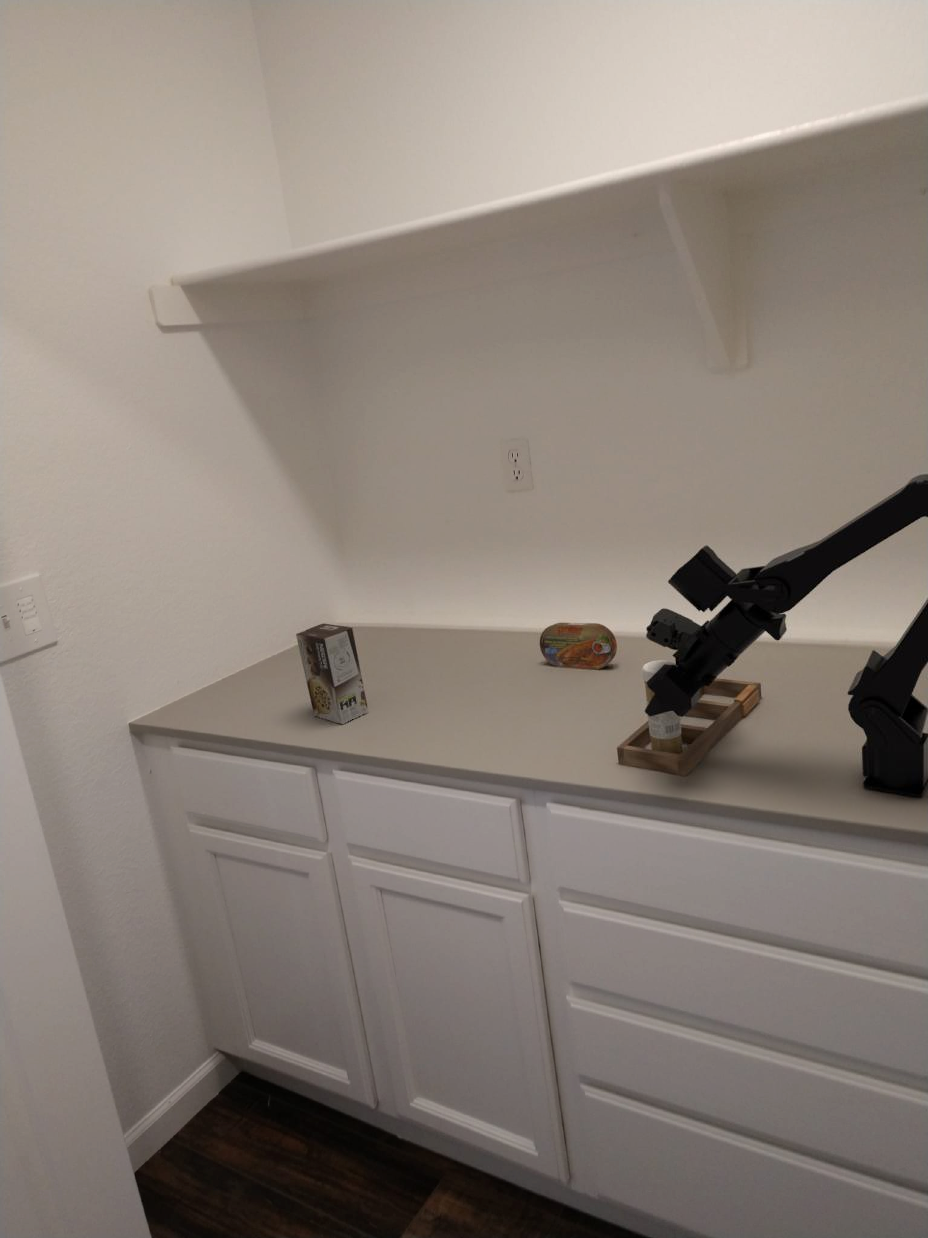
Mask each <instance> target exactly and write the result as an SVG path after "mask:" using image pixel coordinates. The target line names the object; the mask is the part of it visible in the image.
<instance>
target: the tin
mask: <svg viewBox="0 0 928 1238" xmlns="http://www.w3.org/2000/svg"><path fill="white" fill-rule="evenodd" d="M617 646H618V645H617V640H616V637H615V635H614V633H613V632H612V630H610V629H609V627H607V626H605V625H604V624H600V623H596V622H592V623H591V622H556V623H554V624H552V625H549V626H547V627H546V628H545V629H544V630H543V631H542V633H541V635H540V637H539V649H540V652H541V654H542V656H543V658H544V659H545V660H546V661H547V662H548V663H549V664H550V665H552V666H554V667H558V668H565V669H567V668H569V669H582V670H584V669H585V670H599V669H603V668H605V667H606V666H607V665H608V664H610V663H611V662H612V661H613V659H614V658H615V657H616V654H617V650H618V649H617V648H618V647H617Z"/></svg>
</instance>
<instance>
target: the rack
mask: <svg viewBox="0 0 928 1238" xmlns="http://www.w3.org/2000/svg"><path fill="white" fill-rule="evenodd" d="M699 690H700V698H701V697H702V696H704V694H706V695H712V696H722V697H729V698H730V697H731V698H734V699H733V703H728V702H720V701H711V700H703V699H699V700H698V701H697V703H696V704H695V705H694V706H693V708H692V709H691V710H690V711H688V712H687V713H686V714H685V715H684V716H686V717H692V718H693V717H694V718H699V719H707V720H714V721H713V722H712V723H711V724H710V725H709V726H708V727H706V726H705V727H703V726H698V725H690V724H684V723H681V738H682V744H686V745H688V746H687V747H686V748H685V749H683V750H684V751H683V752H682V753H681V754H680V755H679V754H674V753H668V752H662V751H656V750H652V749H649V748H645V747H647V746H648V745H649V744H651V738H650V732H649V722H648V720H647V721H646V722H645V723H644V724H642V725H641V726H640V727H639V728H638V729H636V730H635V731H634V732H633V733H632V734H631V735H629V737H627V738H626V739H625V740H624V741H622V742H621V743H620V744H619V745H617V747H616V751H617V759H618V764H620V765H624V766H631V767H635V768H640V769H645V770H651V771H657V772H662V773H668V774H672V775H677V776H684V777H686V776H687V775H689V773H690V772H691V771H692V770H693V769H694V768H695V767H696V766H697V765H698V764H699V763H700V762H701V761H702V759H703V758H704V757H705V756H707V755H708V753H710V751H711V750H713V749H714V747H715V746H716V745H717V744H718V743H719V742H720V741H721V740H723V738H724V737H725V736H726V735H727V734H728V733H729V732H730V731H731V730H732V729H733V728H734V727H735V726H736V725H737V724H738V723H739V722H740V721H741V720H742V718H744V717H745V716H747V714H748V713H749V712H750V711H751V710H752V709H753V708H754V707H755V706H756V705H757V704H758V703H759V702H760V700H761V699H762V683H761V682H755V681H745V680H738V679H737V680H735V679H727V678H718V677H716V679H715V680H714V681H713V682H712V683H711V684H710V685H709V686H707V685H706V686H704V687H701V688H699Z"/></svg>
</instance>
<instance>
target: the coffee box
mask: <svg viewBox="0 0 928 1238" xmlns="http://www.w3.org/2000/svg"><path fill="white" fill-rule="evenodd" d="M354 634H355V633H354V629H353V627H350V626H344V625H337V624H331V623H320V624H318V625H315V626H313V627H310V628H308V629H306V630H303V631H300V632H297V633H296V634H295V635H296V636H295V637H296V640H297V645H298V650H299V654H300V659H301V663H302V668H303V673H304V676H305V681H306V685H307V689H308V695H309V698H310V704H311V707H312V712H313V716H314V717H315V716H317V717H316V718H319V717H320V718H319V719H322V718H323V719H324V720H326V719H327V721H329V720H330V722H333V723H336V724H337V723H338V724H340V725H344V724H346V723H348V721H349V722H351V721H353V720H355V719H357V718H360V717H361V716H364V715H366V714H368V713H369V707H368V702H367V697H366V693H365V687H364V682H363V677H362V671H361V666H360V661H359V657H358V651H357V647H356V646H357V645H356V640H355V635H354ZM363 714H364V715H363ZM359 716H360V717H359ZM352 719H353V720H352ZM350 720H351V721H350Z"/></svg>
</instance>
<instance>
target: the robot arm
mask: <svg viewBox="0 0 928 1238" xmlns="http://www.w3.org/2000/svg"><path fill="white" fill-rule="evenodd" d="M924 517H925V518H928V473H925V474H919V475H917V476H914V477H913V478H911V479H910V480H909V481H908V482H907V483H906V484H905V485H903V486H902V487H901V488H900V489H898V490H897V491H895V492H893V493H891V494H890V495H888V496H887V497H885V498H883V499H882V500H881V501H879V502H877V503H876V504H874V505H872V506H871V507H870V508H868V509H867V510H865V511H864V512H862V513H861V514H859V515H857V516H855V517H854V518H853V519H851V520H850V521H848V522H846V523H845V524H843V525H842V526H840V527H839V528H837V529H835V530H834V531H832V532H831V533H829V534H828V535H826V536H824V537H823V538H822V539H820V540H817V541H815V542H812V543H811V544H808V545H804V546H801V547H797V548H796V549H792V550H791V551H789V552H786V553H784V554H782V555H778V556H777V557H774V558H773V559H771V560H770V561H769V562H768V563H767V564H765V565H761V566H753V567H746V568H741V569H740V570H739V571H738V572H737V573H736V572H735V571H734V570H733V569H732V568H731V567H730V566H728V565H727V564H726V563H725V561H723V560H722V559H721V558H720V557H719V556H718V555H717V554H716V552H715V551H714V550H713V549H712V548H711V547H710V546H709V545H704V546H703V547H702V548H700V549H699V550H698V552H696V553H695V555H693V557H691V558H690V559H689V560H688V561H687V562H685V563H684V564H683V565H682V566H681V567H679V568H678V569H677V570H676V571H675V572H674V574H672V576H671V577H670V578H669V579H668V580H667V583H668V584H669V585H670V586H671V587H672V588H673V589H674V590H675V591H676V592H678V593H679V594H680V595H681V596H682V597H683V598H684V599H685V600H686V601H687V602H689V604H690V605H692V606H693V607H694V608H695V609H696V610H697V611H698V612H700V611H702V613H706V611H708V610H709V612H711V613H712V612H713V611H714V610H715V609H716V608H717V607H718V606H720V604H721V603H722V602H723V601H724V600H725V599H726V598H727V597H728V598H729V599H730V601H729V602H727V604H726V605H725V606H723V608H721V609H720V611H718V612H717V613H716V614H715V615H714V616H713V618H712V619H710V620H708V619H706V621H705V622H704V623H703V624H702V625H700V624H699V623H697V622H695V621H693V620H692V619H691V618H689V617H686V616H684V615H683V614H681V613H678V612H676V611H673V610H671V609H669V608H665V607H664V608H661V609H659V611H657V612H655V614H654V615H653V616H652V619H651V621H650V624H649V625H648V626H646V629H645V630H646V635H645V637H646V639H647V640H649V641H651V642H653V643H655V644H657V645H660V646H662V647H663V648H668V649H670V650H673V651H675V652H674V653H673V654H672V657H673V658H675V665H676V666H675V665H668V664H664V665H663V666H662V667H661V668H660V669H659V670H658V671H657V672H656V673H655V674H654V675H653V676H652V677H651V678H650V679H649V680H648V681H647V682H646V683H647V686H648V688H650V689H651V690H652V691H653V692H654V693H655V694H654V696H653V697H652V699H651V701H650V702H649V704H648V706H647V705H646V707H645V709H644V712H645V714H647V717H648V716H654V715H658V714H662V713H665V712H669V711H673V712H675V713H676V714H677V715H678V716H680V718H683V717H684V716H685V714H686V713H687V712H688V711H690V710H691V709H692V708H693V706H694V705H695V704H696V703H697V701H698V700H701V697H700V690H699V688H701V687H704V686H706V685H707V686H709V685H710V684H711V683H712V682H713V681H714V680H715V679H716V678H718V676H719V675H720V674H721V673H723V672H724V670H726V669H727V668H729V667H730V666H732V665H733V664H734V663H735V661H737V659H738V658H739V657H740V656H741V655H742V654H743V653H744V652H745V651H746V650H747V649H748V648H749V647H750V646H751V645H752V644H753V643H755V642H756V640H758V639H759V638H760V637H761V636H762V635H763V634H764V633H767V634H768V635H769V636H771V638H773V639H774V641H780V640H781V639H782V638H783V636H784V635H785V633H786V632H787V624H786V618H787V614H785V613H787V612H789V611H791V610H792V609H793V608H795V607H796V606H797V605H798V604H799V603H800V602H801V601H803V600H804V598H807V596H808V595H809V594H811V592H812V591H813V590H814V589H816V587H818V586H819V585H820V584H821V583H822V582H823V581H824V580H825V579H827V578H828V577H829V575H831V574H832V573H833V572H834V571H836V570H838V569H839V568H841V567H843V566H845V565H846V564H847V563H850V562H851V561H852V560H855V559H856V558H857V557H859V556H861V555H863V554H864V553H866V552H867V551H869V550H870V549H872V548H874V547H875V546H877V545H878V544H880V543H882V542H884V541H885V540H886V539H889V538H890V537H892V536H893V535H895V534H897V533H898V532H900V531H901V530H904V529H905V528H906V527H908V526H910V525H912V524H913V523H915V522H916V521H919V519H921V518H924ZM927 665H928V598H927V599H926V600H925V602H923V605H922V606H921V608H920V609H919V611H918V612H917V613H916V615H915V617H913V619H912V620H911V622H910V624H909V626H907V628H906V630H905V631H904V632H903V634H902V636H901V637H900V638H899V640H898V641H897V642H896V644H895V645H894V646H893V647H892V649H890V650H889V651H888V652H887V653H885V654H884V655H881V654H880V653H879V652H877V651H876V650H874V649H873V650H872V651H871V653H870V655H869V657H868V660H867V661H866V664H865V666H864V667H863V668H862V669H861V670H859V671H858V672H857V673H856V674H855V676H854V678H853V680H852V682H851V685H850V687H849V688H848V691H847V692H846V693H847V695H848V696H851V698H850V701H849V702H848V705H847V710H848V713H849V715H850V718H851V719H852V720H853V722H854V723H855V725H857V726H858V727H860V728H861V729H862V730H863V733H864V734H865V737H866V740H865V741H864V743H863V745H862V747H861V761H862V763H861V764H862V770H861V771H862V777H865V779H864V781H863V784H862V787H863V788H865V789H869V790H874V791H881V792H885V793H889V794H891V793H892V794H896V795H902V796H908V797H915V798H922V797H923V796H924V794H925V793H926V790H927V788H928V732H924V729H925V725H926V722H927V718H928V706H926V705H925V704H924V703H922V701H921V700H920V699H918V698H917V697H915V696H914V695H913V692H914V690H915V687H916V686H917V683H918V680H919V678H920V676H921V674H922V672H923V670H924V669H925V667H926V666H927Z"/></svg>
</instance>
